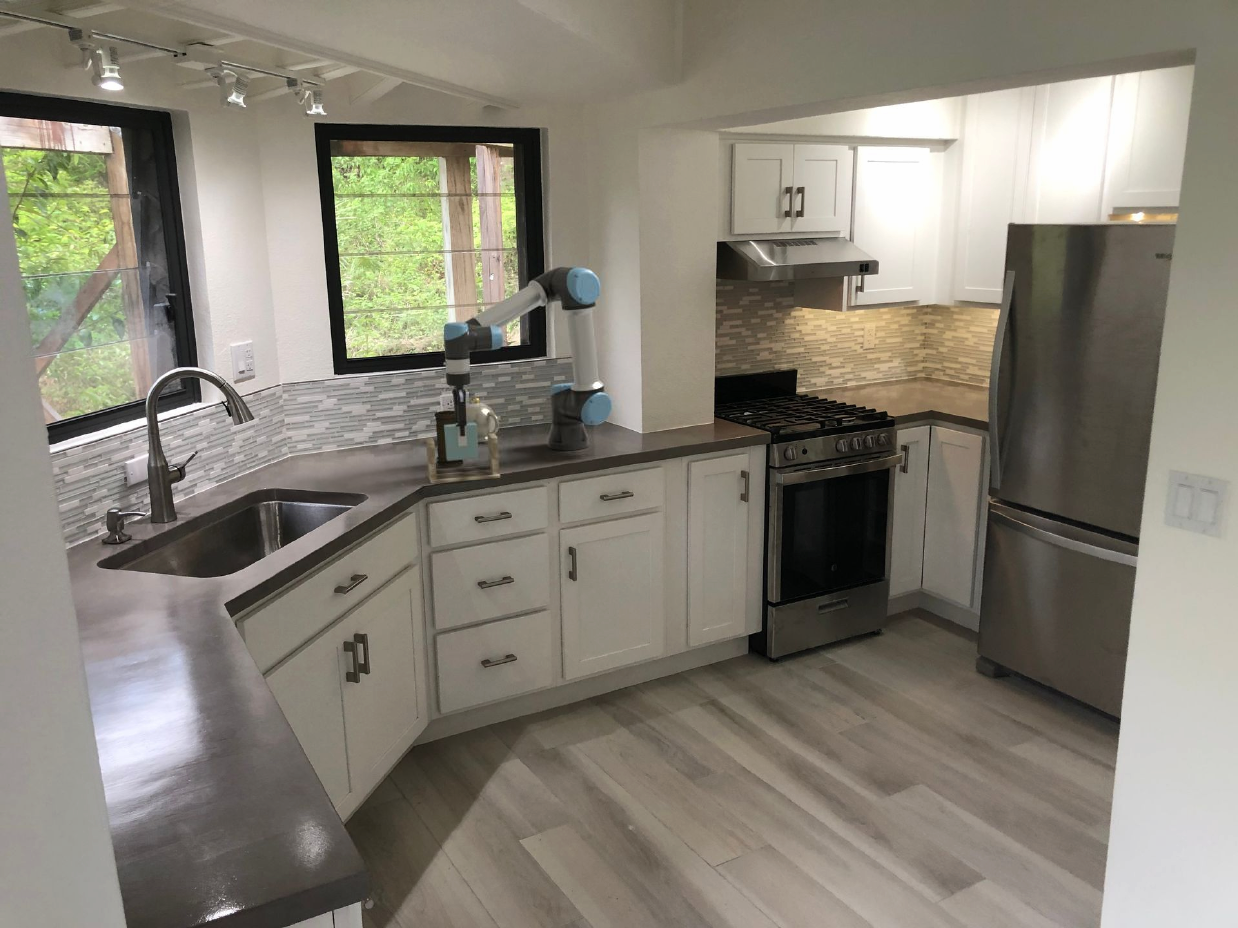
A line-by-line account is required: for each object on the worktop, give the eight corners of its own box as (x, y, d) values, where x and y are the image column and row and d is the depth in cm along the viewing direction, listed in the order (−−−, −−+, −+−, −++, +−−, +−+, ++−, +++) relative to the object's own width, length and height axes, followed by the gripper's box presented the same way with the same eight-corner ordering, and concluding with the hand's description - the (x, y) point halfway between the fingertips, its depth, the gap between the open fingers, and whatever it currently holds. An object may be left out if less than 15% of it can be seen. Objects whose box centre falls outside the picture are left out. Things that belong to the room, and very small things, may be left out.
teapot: (451, 441, 364) (448, 398, 360) (476, 435, 375) (474, 393, 371) (486, 447, 354) (484, 403, 350) (511, 440, 364) (509, 397, 360)
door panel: (477, 455, 316) (475, 422, 313) (478, 458, 312) (476, 424, 310) (446, 458, 313) (444, 424, 310) (447, 460, 310) (445, 427, 307)
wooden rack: (494, 469, 322) (493, 432, 319) (500, 477, 312) (498, 438, 309) (427, 475, 317) (425, 436, 313) (431, 483, 306) (428, 444, 303)
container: (458, 468, 325) (455, 415, 321) (432, 467, 327) (429, 414, 322) (467, 461, 333) (464, 410, 329) (442, 460, 335) (439, 409, 331)
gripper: (443, 369, 313) (447, 439, 318) (448, 376, 297) (453, 450, 303) (466, 367, 315) (470, 438, 320) (473, 375, 299) (477, 449, 305)
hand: (461, 444), depth 312 cm, fingers closed on door panel, 3 cm apart
